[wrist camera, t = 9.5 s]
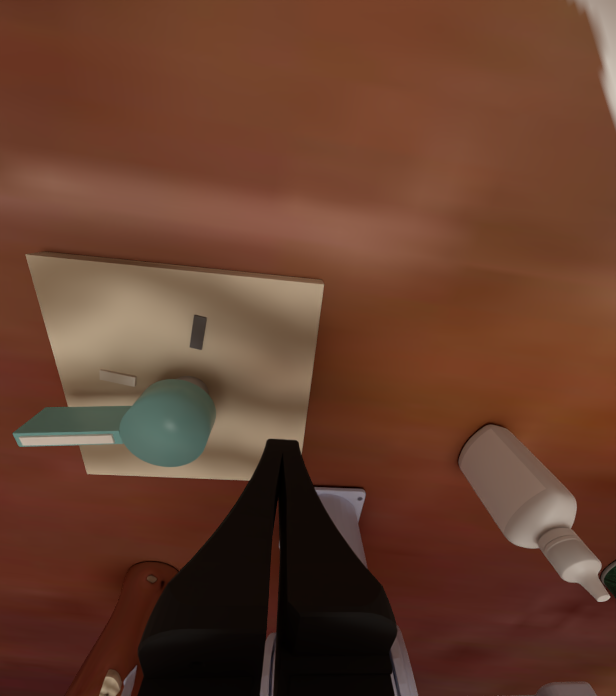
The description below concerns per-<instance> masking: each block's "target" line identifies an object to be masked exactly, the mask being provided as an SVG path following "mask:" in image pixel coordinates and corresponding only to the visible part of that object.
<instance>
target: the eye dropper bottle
mask: <svg viewBox="0 0 616 696" xmlns="http://www.w3.org/2000/svg"><path fill="white" fill-rule="evenodd" d="M458 464H459V467H460V469H461V471H462V472H463V474H464V475H465V477H466V478H467V480H468V482H469V483H470V485H471V486H472V488H473V489H474V491H475V492H476V494H477V495H478V497H479V498H480V500H481V501H482V503H483V504H484V506H485V507H486V509H487V510H488V512H489V513H490V515H491V516H492V518H493V519H494V521H495V522H496V524H497V525H498V527H499V528H500V530H501V531H502V533H503V534H504V535H505V537H506V538H507V539H508V540H509V541H510V542H512V543H513V544H515V545H517V546H521V547H525V548H540V549H541V551H542V552H543V554H544V555H545V556H546V558H547V559H548V560H549V562H550V563H551V564H552V566H553V567H554V568H555V570H556V571H557V573H558V574H559V575H560V577H561V578H562V579H563V580H565V581H568V582H577V583H579V584H581V585H582V586H583V587H584V588H585V589H586V590H587V591H588V592H589V593H590V594H591V595H592V596H593V597H594V598H595V599H596V600H597V601H598V602H603V601H606V600H608V599H609V598H610V596H609V594H608V592H607V591H606V589H605V588H604V586H603V584H602V583H601V581H600V580H599V578H598V573H599V571H600V570H601V562H600V561H599V560H598V558H597V557H596V556H595V555H594V554H593V553H592V552H591V550H590V549H589V548H588V547H587V546H586V545H585V544H584V543H583V541H582V540H581V539H580V538H579V537H578V536H577V535H576V533H575V532H574V531H573V530H571V527H572V525H573V522H574V519H575V515H576V509H577V505H576V500H575V498H574V496H573V495H572V494H571V493H570V492H569V490H568V489H567V488H566V487H565V486H564V485H563V484H562V483H561V482H560V481H559V480H558V479H557V478H556V477H555V476H554V475H553V474H552V473H551V472H550V471H549V470H548V469H547V468H546V467H545V466H544V465H543V464H542V463H541V462H540V461H539V460H538V459H537V458H536V457H535V456H534V455H533V454H532V453H531V452H530V451H529V450H528V449H527V448H526V447H525V446H524V445H523V444H522V443H521V442H520V441H519V440H518V439H517V438H516V437H515V436H514V435H513V434H512V433H511V432H510V431H509V430H508V429H506V428H503V427H500V426H497V425H491V424H489V425H486V426H484V427H483V428H481V429H480V430H479V431H477V432H476V433H475V434H474V435H473V436H472V437H471V438H470V439H469V440H468V441H467V443H466V444H465V446H464V447H463V449H462V451H461V454H460V457H459V461H458Z"/></svg>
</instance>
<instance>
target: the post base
mask: <svg viewBox="0 0 616 696" xmlns="http://www.w3.org/2000/svg"><path fill="white" fill-rule="evenodd" d="M25 255H26V258H27V262H28V265H29V269H30V273H31V276H32V280H33V283H34V287H35V290H36V294H37V297H38V301H39V304H40V308H41V312H42V315H43V319H44V322H45V326H46V329H47V333H48V336H49V340H50V343H51V347H52V351H53V354H54V358H55V361H56V365H57V368H58V372H59V375H60V379H61V383H62V386H63V390H64V393H65V397H66V400H67V404H68V407H90V406H132V405H133V404H134V403H135V402H136V400H137V399H138V398H139V397H140V396H141V395H142V393H143V392H144V391H145V390H146V389H147V388H148V387H149V386H150V385H152V384H153V383H156V382H158V381H161V380H166V379H179V380H184V381H188V382H191V383H193V384H195V385H197V386H199V387H200V388H202V389H203V390H204V391H205V392H206V393H207V394H208V395H209V396H210V397H211V399H212V400H213V402H214V405H215V408H216V419H215V423H214V425H213V428H212V430H211V433H210V436H209V438H208V441H207V444H206V446H205V449H204V451H203V452H202V454H201V455H200V456H199V457H198V458H197V459H196V460H194V461H193V462H191V463H189V464H186V465H183V466H178V467H162V466H156V465H153V464H150V463H147V462H145V461H143V460H141V459H139V458H138V457H136V456H135V455H133V454H132V453H131V452H130V451H129V450H128V449H127V448H126V446H125V445H124V443H123V444H102V445H79V446H80V450H81V453H82V457H83V461H84V464H85V468H86V471H87V474H102V475H127V476H152V477H176V478H201V479H225V480H250V479H251V477H252V475H253V473H254V471H255V469H256V467H257V465H258V463H259V461H260V459H261V456H262V454H263V451H264V448H265V445H266V441H267V440H268V439H286V440H297V441H298V442H299V447H300V451H301V455H302V447H303V440H304V432H305V425H306V417H307V410H308V402H309V394H310V387H311V379H312V372H313V364H314V357H315V349H316V342H317V334H318V327H319V319H320V311H321V304H322V296H323V289H324V283H323V281H322V280H319V279H309V278H300V277H290V276H280V275H270V274H260V273H251V272H241V271H231V270H221V269H211V268H201V267H192V266H182V265H172V264H162V263H152V262H143V261H133V260H123V259H113V258H103V257H93V256H84V255H74V254H64V253H54V252H39V253H32V254H25Z"/></svg>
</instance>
